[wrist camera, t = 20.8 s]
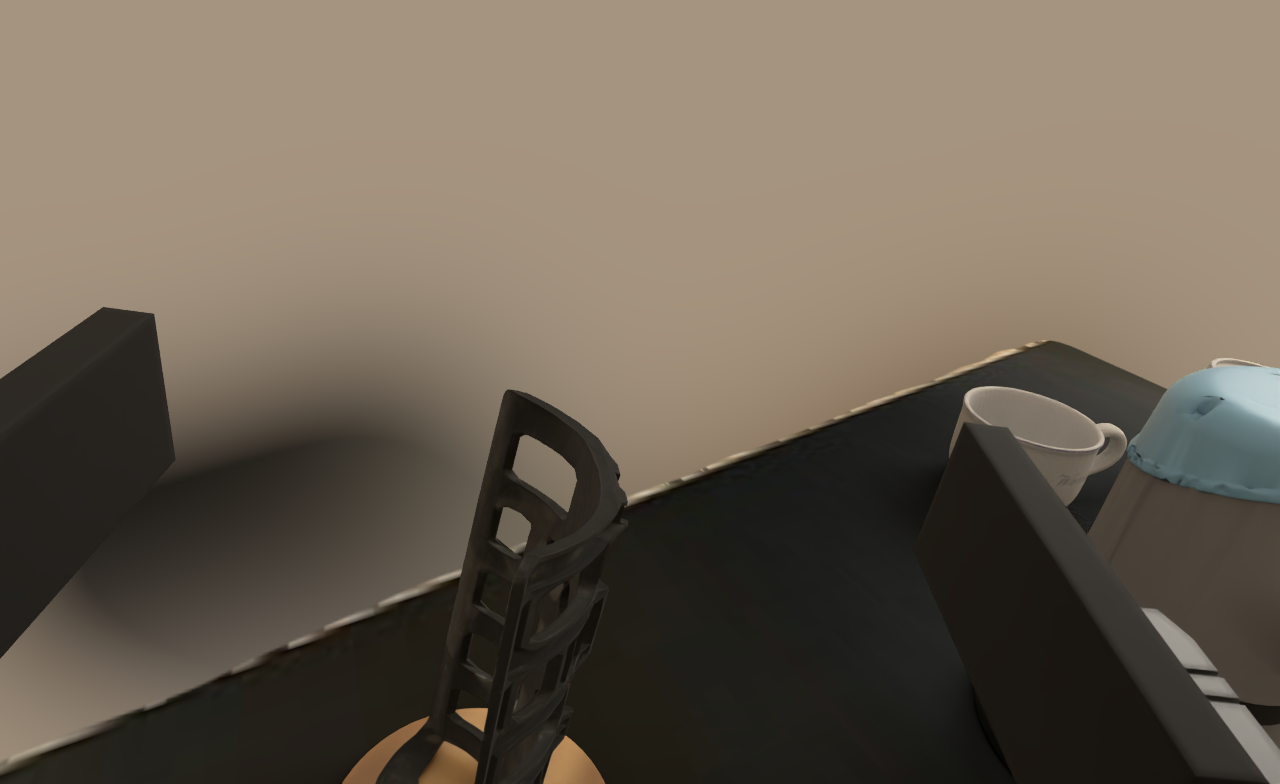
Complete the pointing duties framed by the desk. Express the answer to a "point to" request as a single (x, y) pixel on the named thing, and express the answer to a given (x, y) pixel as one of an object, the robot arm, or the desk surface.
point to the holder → (524, 605)
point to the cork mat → (469, 759)
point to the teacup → (1046, 434)
